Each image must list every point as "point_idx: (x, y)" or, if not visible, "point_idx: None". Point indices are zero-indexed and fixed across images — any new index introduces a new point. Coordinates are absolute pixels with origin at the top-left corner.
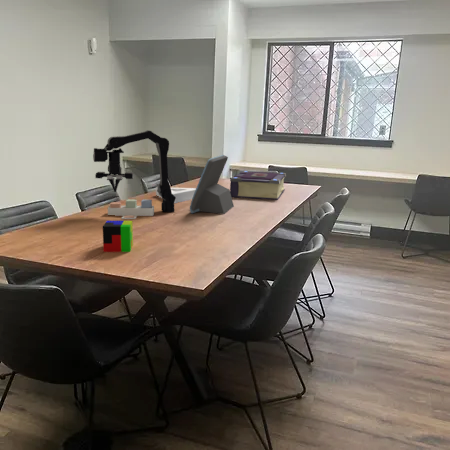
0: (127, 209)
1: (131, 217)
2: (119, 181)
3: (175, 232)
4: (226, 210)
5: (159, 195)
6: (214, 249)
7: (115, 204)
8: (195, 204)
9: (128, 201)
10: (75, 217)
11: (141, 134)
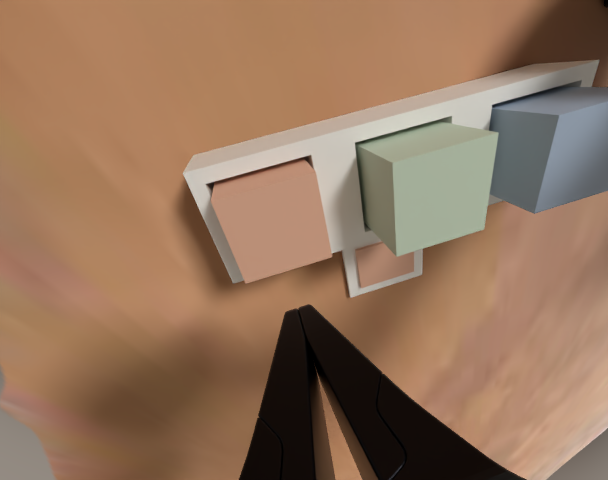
0: None
1: (400, 274)
2: (499, 475)
3: (545, 371)
4: None
5: None
6: (582, 423)
7: (293, 265)
8: None
9: (420, 246)
10: (69, 357)
11: None
